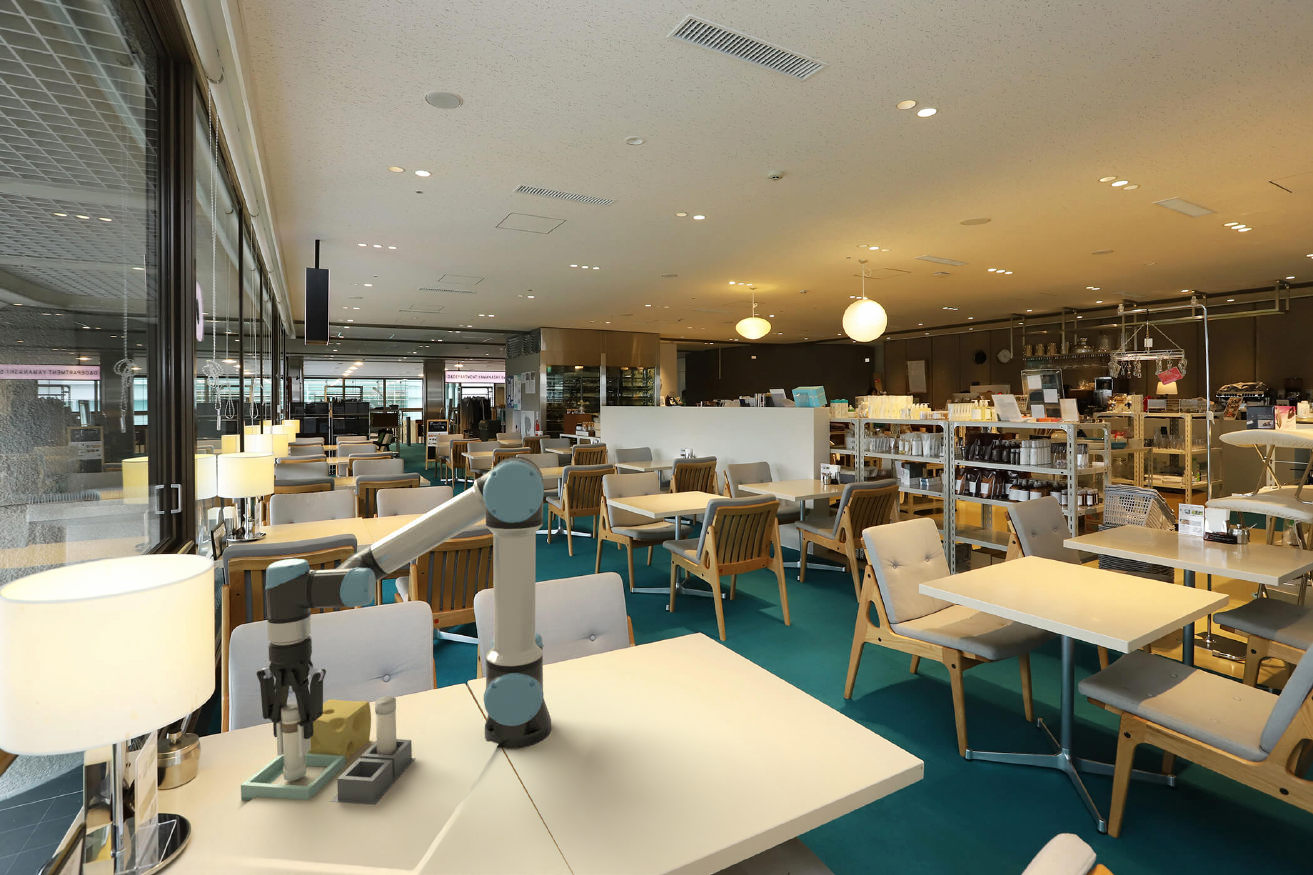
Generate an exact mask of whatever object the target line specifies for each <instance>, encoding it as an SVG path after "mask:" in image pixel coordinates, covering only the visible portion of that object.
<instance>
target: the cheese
mask: <svg viewBox="0 0 1313 875" xmlns="http://www.w3.org/2000/svg"><path fill="white" fill-rule="evenodd" d="M371 727H372V713H371V705H370V701H366V700H359V701H358V700H357V701H356V700H354V701H353V700H342V699H341V700H340V699H334V698H333V699H331V698H330V699H328V700H326V701H325V702H323V715H322V716H321V717H319V718H318V719H317V720H315V721H314V722H313V729H314V730H313V731H314V734H313V736H312V737H311V750H310V751H309V752H308V753H311V754H327V755H342V756H345V762H346V761H347V760H348V759H349V758H350V757H351V756H352V755H353V754H354V753H356V752H357V751H358V750H359V749H361V748H362V747H364V745H366V744H367V743H368V742H370V737H371V730H372V728H371Z"/></svg>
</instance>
